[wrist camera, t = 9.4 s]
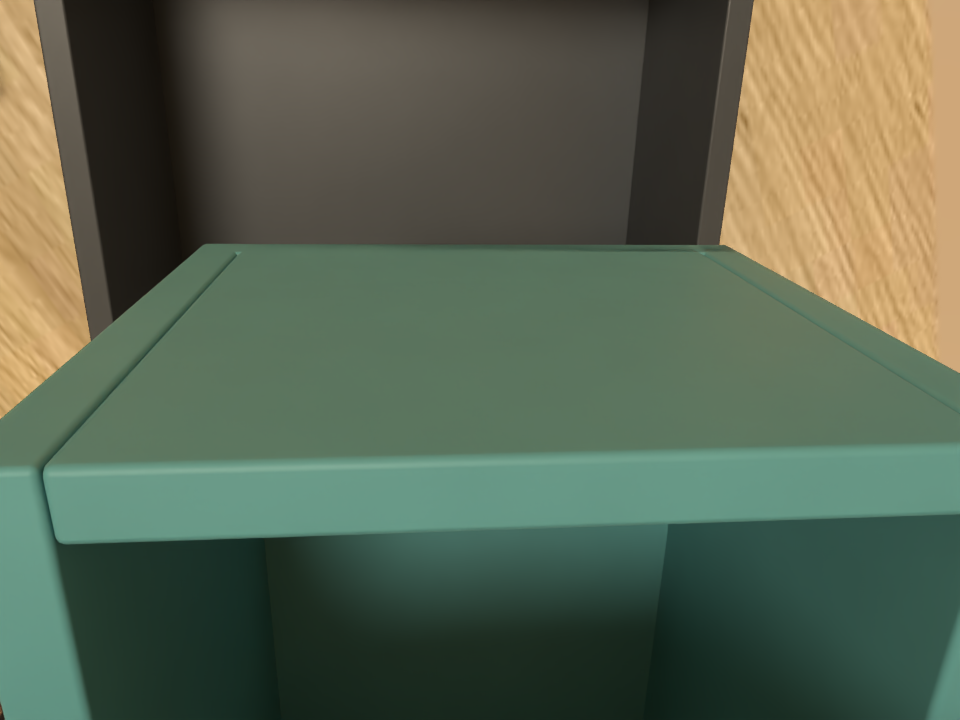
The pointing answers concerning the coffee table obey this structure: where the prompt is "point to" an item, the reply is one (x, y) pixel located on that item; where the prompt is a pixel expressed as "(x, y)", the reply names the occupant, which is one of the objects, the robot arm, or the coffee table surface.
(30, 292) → the coffee table surface
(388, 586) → the small bin
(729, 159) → the big bin
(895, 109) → the coffee table surface
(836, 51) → the coffee table surface
